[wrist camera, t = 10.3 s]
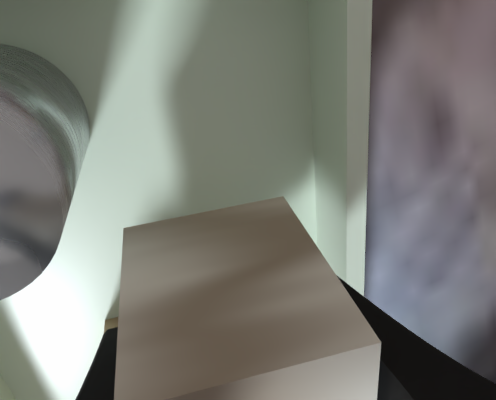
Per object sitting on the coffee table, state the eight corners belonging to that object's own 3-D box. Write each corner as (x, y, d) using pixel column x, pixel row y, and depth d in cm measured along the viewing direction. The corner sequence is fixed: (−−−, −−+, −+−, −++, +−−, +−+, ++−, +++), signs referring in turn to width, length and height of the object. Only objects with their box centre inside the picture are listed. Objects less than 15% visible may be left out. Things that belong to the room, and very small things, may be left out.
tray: (330, 378, 20) (359, 440, 17) (44, 459, 18) (28, 542, 15) (318, -69, 11) (374, -83, 9) (-233, -3, 9) (-380, 4, 7)
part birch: (283, 196, 11) (381, 343, 6) (290, 313, 13) (370, 486, 8) (123, 228, 10) (113, 413, 6) (157, 346, 12) (168, 551, 8)
